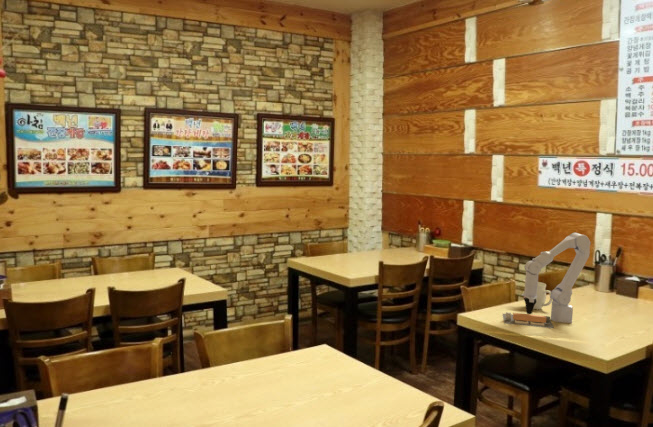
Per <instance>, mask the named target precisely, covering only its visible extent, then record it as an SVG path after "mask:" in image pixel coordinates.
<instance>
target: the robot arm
mask: <svg viewBox="0 0 653 427" xmlns="http://www.w3.org/2000/svg"><path fill="white" fill-rule="evenodd" d="M591 244H592V243H591V241H590V238H589V237H588V236H587V235H586V234H581V233H578V232H573V233H570V234H569V235H567V236H566V237H565V238H564V239H562V241H560V242H559V243H558V244H557V245H555V246H554V247H552V248H551V249H550V250H549V251H548V250H547V251H541V252H540V254H539V255H537V256H536V257H535V258H534V257H533V258H531V259H532V260H528V261H526V263H525V264H524V266H523V267H524V270H525V282H524V290H523V291H524V293H521V296H522V297H523V300H524V303H525V312H526V314H530V315H533V310H534V309H533V308H534V305H535V304H536V302H537V301H536V299H535V298H537V286H538V282H539V274H540V273H541V271H542V269H543V268H545V267H546V266H548V265H549V264H551V263H552V262H553V261H554V257H556V256H557V255H559V254H561V253H562V252H564V251H566V250H567V249H574V252H575V256H574V258H573V260H572V262H571V263H570V265H569V268H568V269H567V271H566V273H565V275H564V276H563V278H562V280H561V282H560V283H559V284H557V285H556V286H555V287H554V289H552V290H550V292H551V298H552V302H551V308H550V309H551V311H550V312H551V313H550V321H551V322H556V323H564V324H565V323H566V324H567V323H568V324H572V323H573V316H574V315H573V314H574V313H573V311H574V307H573V305H571V304H570V303H571V300H572V298H571V297H572V295H573V287H574V285H575V284H576V281H577V279H578V278H579V276H580V274H581V272H582V270H583V269H584V267H585V265H586V263H587V261H588V260H589V258H590V254H591V253H590V251H591V250H590V248H591ZM524 296H525V297H526V298H524Z"/></svg>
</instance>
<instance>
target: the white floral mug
mask: <svg viewBox="0 0 653 427" xmlns="http://www.w3.org/2000/svg"><path fill="white" fill-rule="evenodd" d="M522 281H523V282H524V283H525V279H522ZM546 288H547V284H546V283H544V282H540V281H538V286H537V298H535V299H536V301H537V302H536V304H535V305H534V308H533V310H535V309H537V310H538V309H539V310H542V308H543V307H548V306H550V305H552V301H553V299H552V298H551V290H548V289H546ZM547 293H548V294H549V301H547V302H546V300H547ZM524 298H526V297H525V296H523V299H524Z"/></svg>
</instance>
